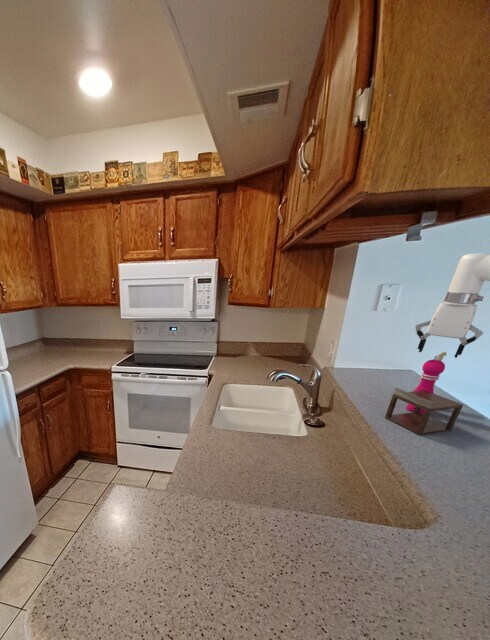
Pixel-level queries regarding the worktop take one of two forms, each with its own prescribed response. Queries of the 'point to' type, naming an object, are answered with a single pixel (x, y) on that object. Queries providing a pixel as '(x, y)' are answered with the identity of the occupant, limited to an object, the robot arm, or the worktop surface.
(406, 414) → the shelf
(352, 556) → the worktop surface
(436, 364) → the pepper mill
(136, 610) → the worktop surface
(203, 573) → the worktop surface
